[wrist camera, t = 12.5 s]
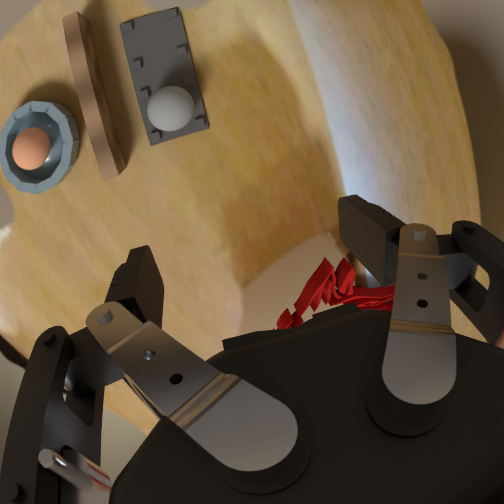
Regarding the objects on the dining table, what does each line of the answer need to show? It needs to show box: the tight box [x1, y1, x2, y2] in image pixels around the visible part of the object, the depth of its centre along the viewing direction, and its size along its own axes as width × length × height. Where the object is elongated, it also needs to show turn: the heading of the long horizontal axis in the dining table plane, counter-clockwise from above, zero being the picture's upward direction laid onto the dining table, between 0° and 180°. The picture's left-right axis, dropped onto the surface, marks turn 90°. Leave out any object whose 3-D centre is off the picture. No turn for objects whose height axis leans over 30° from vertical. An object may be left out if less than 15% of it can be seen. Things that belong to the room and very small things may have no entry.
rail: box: [62, 11, 126, 181], centre depth 26 cm, size 20×2×4 cm, turn 12°
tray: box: [120, 7, 209, 146], centre depth 28 cm, size 16×7×1 cm, turn 12°
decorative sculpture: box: [273, 257, 395, 330], centre depth 50 cm, size 31×3×30 cm
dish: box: [0, 101, 80, 194], centre depth 28 cm, size 11×11×3 cm
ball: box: [12, 127, 51, 170], centre depth 26 cm, size 5×5×5 cm
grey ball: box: [147, 86, 194, 131], centre depth 28 cm, size 5×5×5 cm
